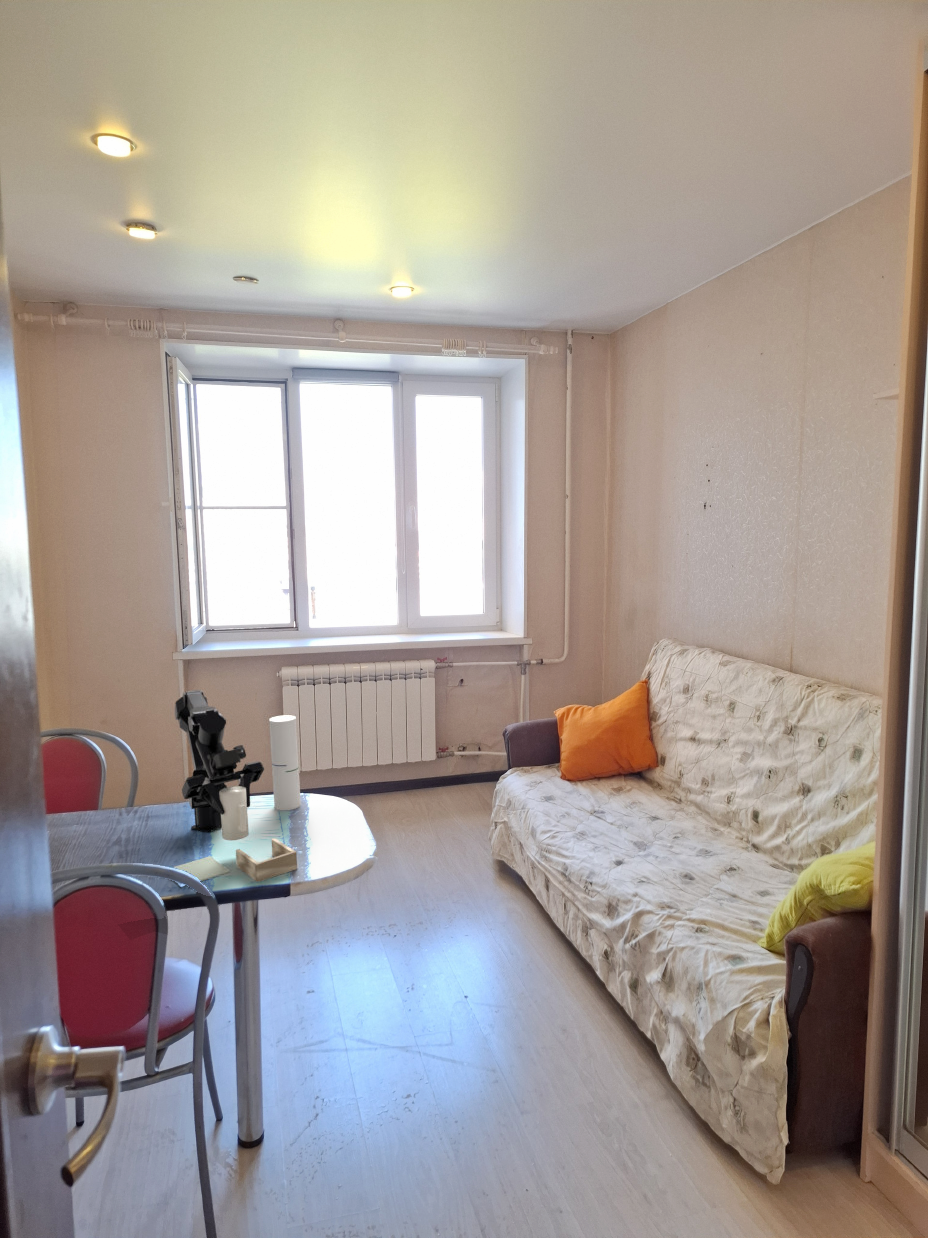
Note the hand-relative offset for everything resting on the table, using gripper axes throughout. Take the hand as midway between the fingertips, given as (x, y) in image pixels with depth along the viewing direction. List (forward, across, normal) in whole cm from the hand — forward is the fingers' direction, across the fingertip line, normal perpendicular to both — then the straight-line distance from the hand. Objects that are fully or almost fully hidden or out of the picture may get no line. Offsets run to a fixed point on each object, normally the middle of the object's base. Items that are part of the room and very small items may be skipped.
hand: (236, 810), depth 179 cm
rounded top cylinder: (+4, 0, +5) cm, 7 cm away
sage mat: (+8, -11, +8) cm, 16 cm away
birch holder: (+15, +2, +2) cm, 15 cm away
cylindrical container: (-8, +25, +24) cm, 36 cm away
